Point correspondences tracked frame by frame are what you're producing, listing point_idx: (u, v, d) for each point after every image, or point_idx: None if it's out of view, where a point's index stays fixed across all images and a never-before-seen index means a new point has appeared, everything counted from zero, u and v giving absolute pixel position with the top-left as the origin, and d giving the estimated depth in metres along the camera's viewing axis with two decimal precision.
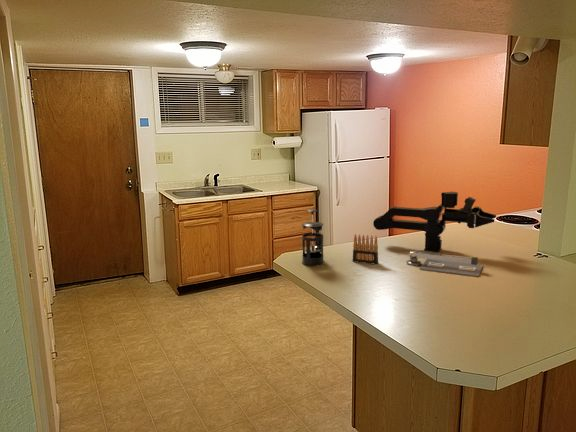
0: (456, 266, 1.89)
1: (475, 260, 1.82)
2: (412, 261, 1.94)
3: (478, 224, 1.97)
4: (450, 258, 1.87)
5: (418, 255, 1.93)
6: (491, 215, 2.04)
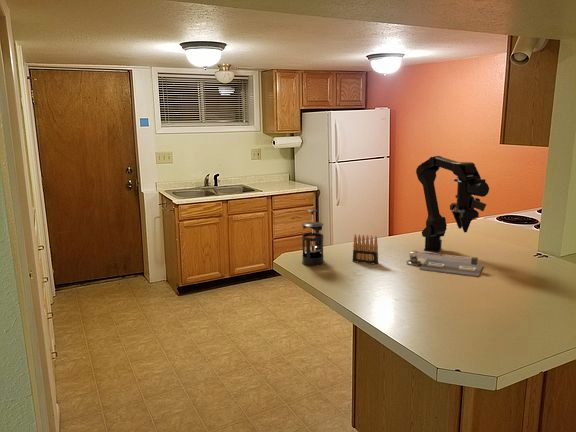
0: (456, 266, 1.89)
1: (475, 260, 1.82)
2: (412, 261, 1.94)
3: (463, 219, 1.89)
4: (450, 258, 1.87)
5: (418, 255, 1.93)
6: (461, 224, 1.98)
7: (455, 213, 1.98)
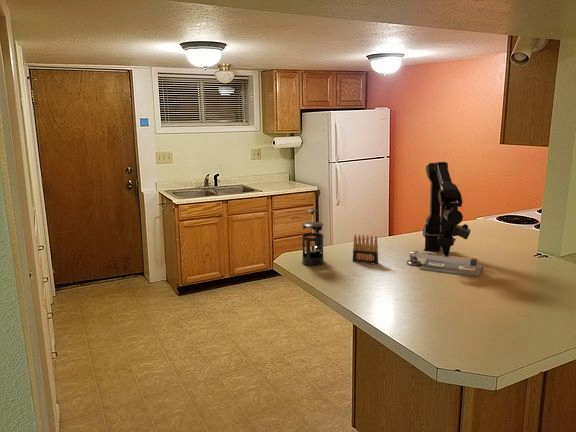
0: (456, 266, 1.89)
1: (474, 261, 1.81)
2: (412, 261, 1.94)
3: None
4: (449, 259, 1.86)
5: (418, 255, 1.93)
6: None
7: None
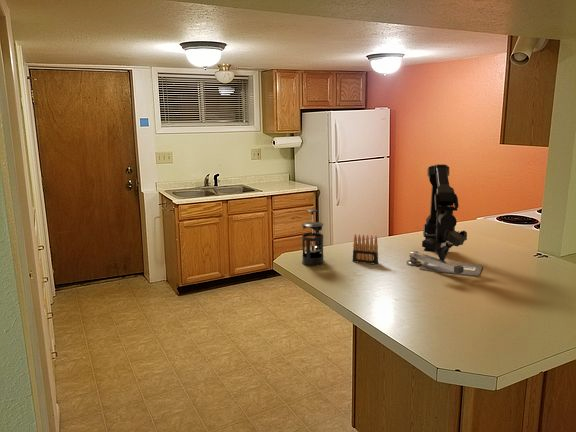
0: None
1: (457, 268, 1.73)
2: (412, 261, 1.94)
3: None
4: (438, 263, 1.81)
5: (415, 255, 1.92)
6: None
7: None
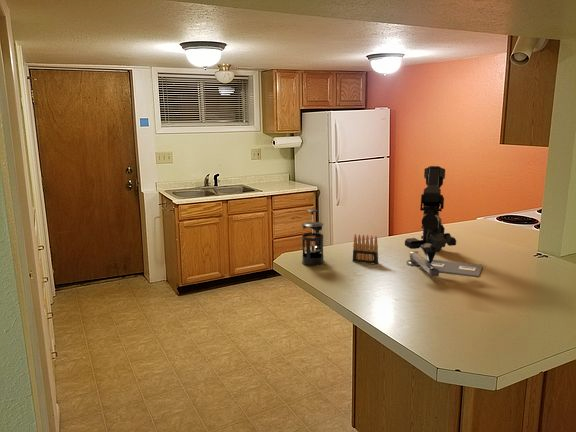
0: (456, 266, 1.89)
1: (430, 271, 1.71)
2: (412, 261, 1.94)
3: None
4: (422, 264, 1.80)
5: (412, 255, 1.92)
6: None
7: None
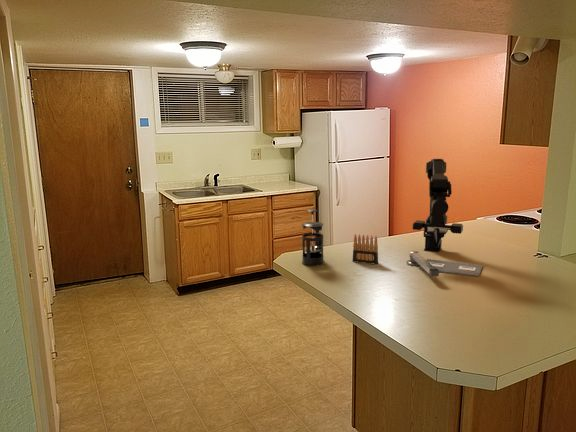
0: (456, 266, 1.89)
1: (430, 271, 1.71)
2: (412, 261, 1.94)
3: (441, 235, 1.86)
4: (422, 264, 1.80)
5: (412, 255, 1.93)
6: None
7: (434, 233, 1.87)
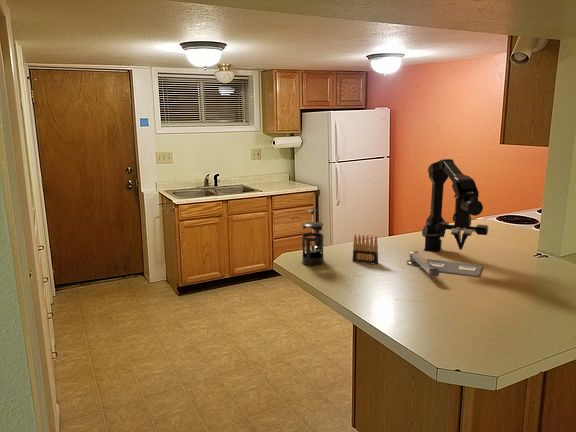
0: (456, 266, 1.89)
1: (430, 271, 1.71)
2: (412, 261, 1.94)
3: None
4: (422, 264, 1.80)
5: (412, 255, 1.93)
6: None
7: (458, 234, 1.82)
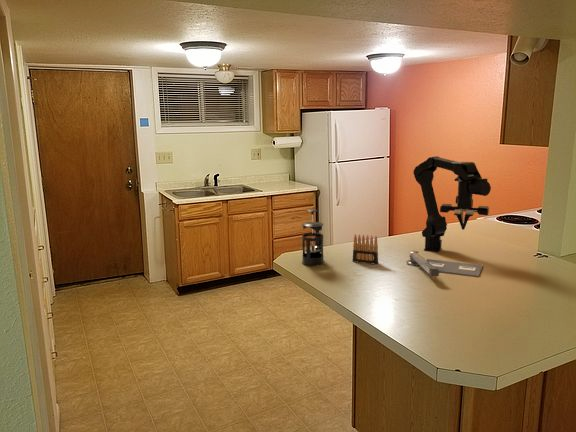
0: (456, 266, 1.89)
1: (430, 271, 1.71)
2: (412, 261, 1.94)
3: (468, 217, 1.93)
4: (422, 264, 1.80)
5: (412, 255, 1.93)
6: None
7: (461, 215, 1.94)
